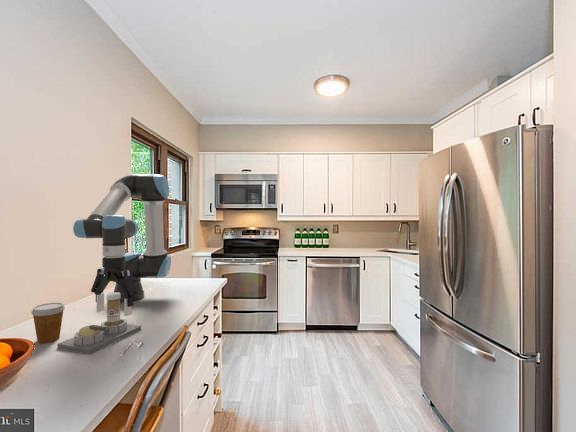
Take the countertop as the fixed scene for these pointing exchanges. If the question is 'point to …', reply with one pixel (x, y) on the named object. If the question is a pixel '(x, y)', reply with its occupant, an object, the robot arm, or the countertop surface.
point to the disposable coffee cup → (48, 321)
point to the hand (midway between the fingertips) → (114, 313)
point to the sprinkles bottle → (113, 309)
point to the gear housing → (98, 337)
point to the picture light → (130, 345)
